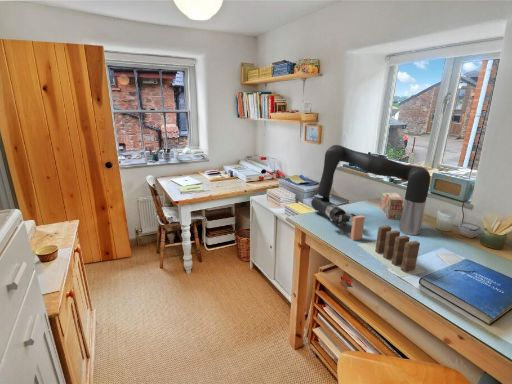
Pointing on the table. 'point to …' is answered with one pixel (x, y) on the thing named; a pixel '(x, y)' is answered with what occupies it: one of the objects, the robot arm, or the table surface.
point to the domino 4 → (410, 256)
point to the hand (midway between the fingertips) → (353, 225)
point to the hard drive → (449, 258)
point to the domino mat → (388, 260)
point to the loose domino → (357, 227)
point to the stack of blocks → (391, 205)
